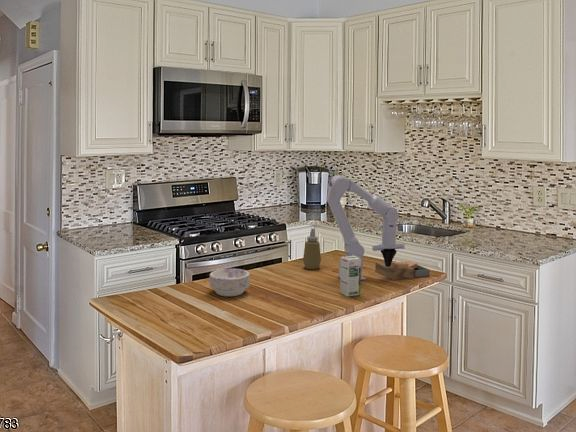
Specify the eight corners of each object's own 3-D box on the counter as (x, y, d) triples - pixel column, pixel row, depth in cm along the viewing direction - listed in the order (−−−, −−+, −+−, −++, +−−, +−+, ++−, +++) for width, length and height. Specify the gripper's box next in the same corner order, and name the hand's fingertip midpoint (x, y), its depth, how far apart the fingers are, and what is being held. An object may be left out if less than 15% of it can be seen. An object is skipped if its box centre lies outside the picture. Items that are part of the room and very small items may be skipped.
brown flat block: (393, 280, 240) (393, 270, 239) (375, 271, 254) (375, 262, 253) (413, 277, 244) (414, 268, 243) (394, 269, 257) (395, 260, 257)
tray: (414, 277, 244) (414, 271, 243) (395, 269, 258) (395, 262, 257) (429, 276, 246) (429, 269, 246) (409, 268, 260) (410, 261, 260)
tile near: (398, 268, 243) (398, 264, 242) (392, 266, 247) (392, 262, 247) (408, 267, 244) (408, 263, 244) (402, 265, 249) (402, 261, 249)
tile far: (416, 263, 253) (417, 266, 254) (410, 260, 258) (411, 264, 258) (407, 267, 252) (408, 271, 252) (401, 265, 256) (402, 268, 257)
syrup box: (347, 297, 216) (348, 259, 213) (339, 292, 221) (340, 256, 219) (360, 295, 218) (361, 258, 216) (352, 291, 223) (353, 254, 221)
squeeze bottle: (324, 267, 259) (325, 228, 256) (315, 271, 252) (316, 231, 250) (308, 265, 263) (309, 226, 261) (299, 268, 257) (300, 229, 254)
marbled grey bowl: (204, 297, 213) (204, 277, 211) (216, 286, 227) (216, 267, 226) (244, 300, 210) (244, 279, 209) (253, 289, 225) (253, 269, 224)
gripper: (378, 237, 235) (377, 269, 237) (409, 235, 240) (407, 267, 242) (370, 234, 241) (369, 265, 244) (400, 232, 247) (398, 263, 249)
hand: (387, 266), depth 243 cm, fingers closed
